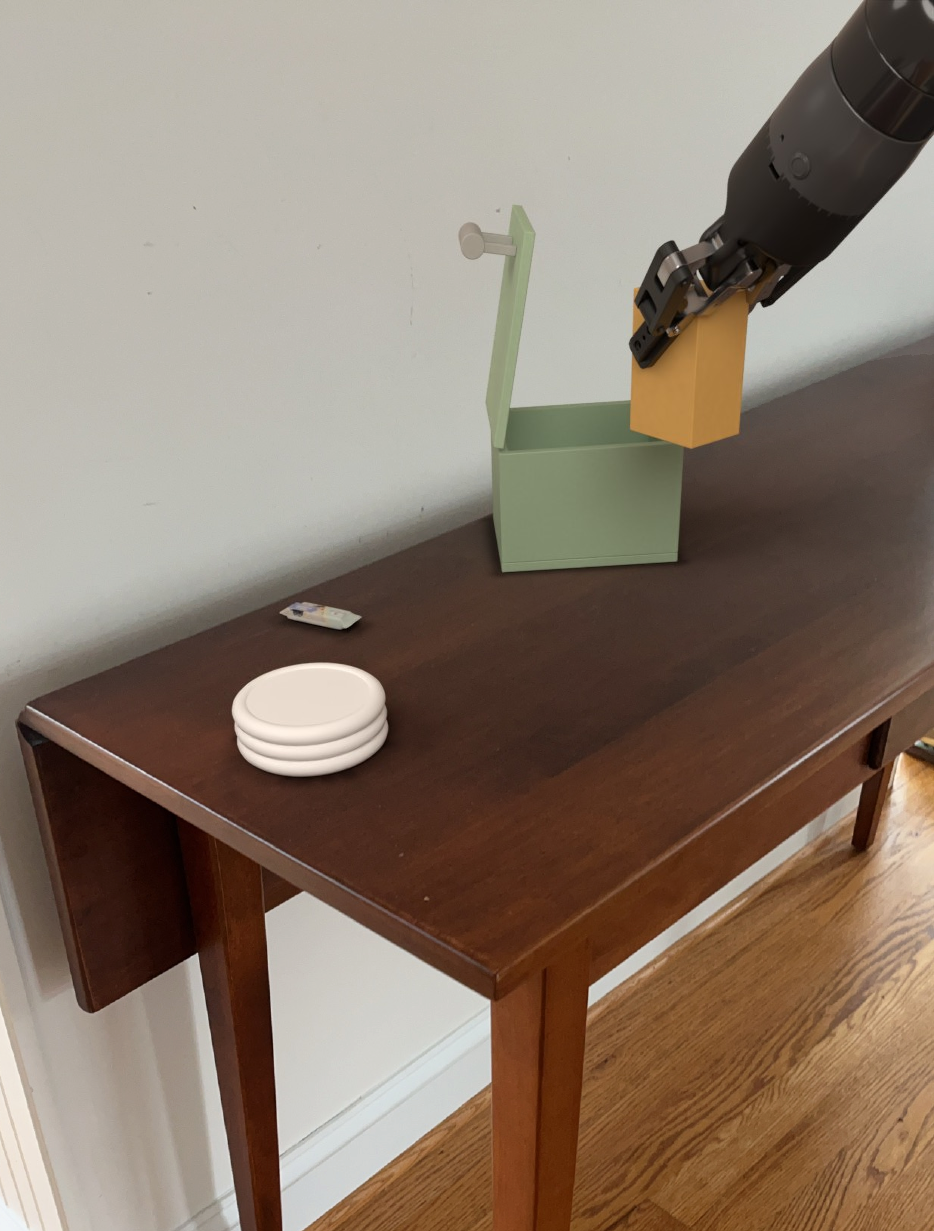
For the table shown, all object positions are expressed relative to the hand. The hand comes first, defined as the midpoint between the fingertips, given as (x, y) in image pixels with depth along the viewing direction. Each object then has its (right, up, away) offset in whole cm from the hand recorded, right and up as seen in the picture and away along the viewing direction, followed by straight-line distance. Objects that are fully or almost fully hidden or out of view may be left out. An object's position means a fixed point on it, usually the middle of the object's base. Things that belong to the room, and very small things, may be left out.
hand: (667, 348), depth 84 cm
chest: (-3, -6, +26) cm, 27 cm away
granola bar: (-24, -15, +15) cm, 33 cm away
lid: (-9, +8, +16) cm, 20 cm away
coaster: (-24, -26, 0) cm, 35 cm away
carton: (+1, -5, +2) cm, 6 cm away
